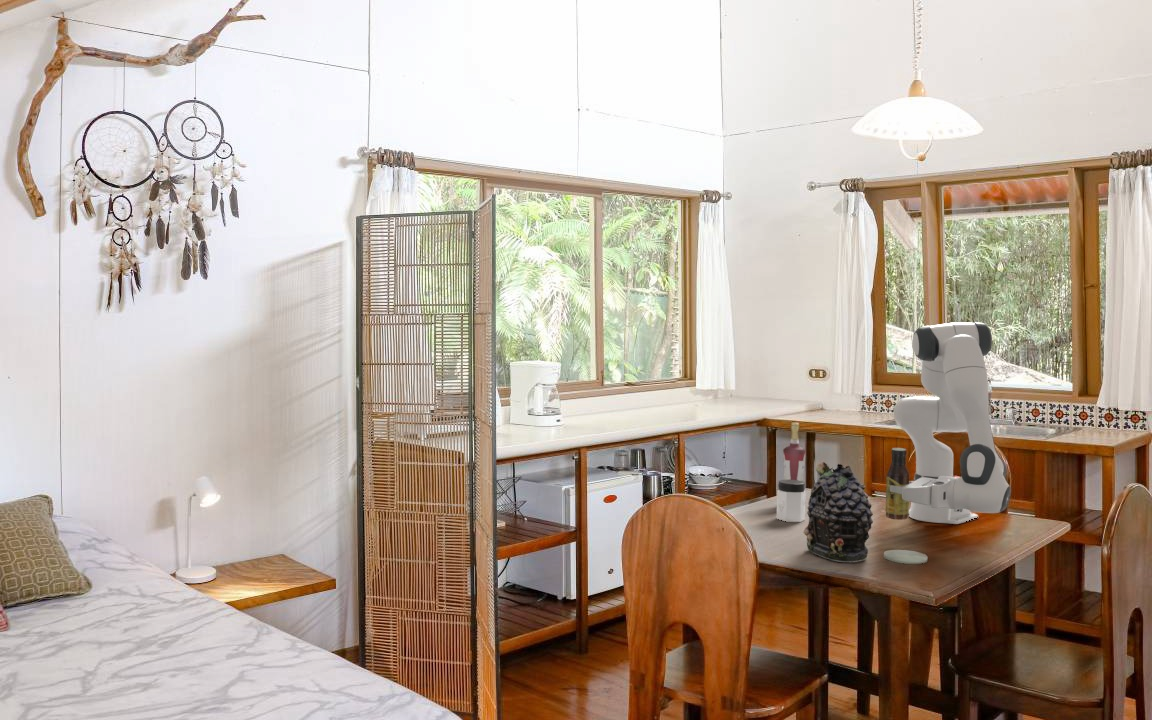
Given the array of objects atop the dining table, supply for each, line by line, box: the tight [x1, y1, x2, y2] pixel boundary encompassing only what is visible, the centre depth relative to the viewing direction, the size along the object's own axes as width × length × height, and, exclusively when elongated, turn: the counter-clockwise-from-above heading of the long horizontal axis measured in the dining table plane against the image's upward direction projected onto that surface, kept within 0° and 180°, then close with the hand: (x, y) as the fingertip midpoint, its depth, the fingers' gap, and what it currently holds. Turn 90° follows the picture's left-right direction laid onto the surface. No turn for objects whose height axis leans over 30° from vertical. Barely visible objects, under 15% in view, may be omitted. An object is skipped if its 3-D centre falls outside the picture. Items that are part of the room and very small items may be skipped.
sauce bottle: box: [885, 447, 910, 520], centre depth 270 cm, size 7×6×20 cm
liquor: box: [782, 422, 806, 482], centre depth 323 cm, size 7×7×28 cm
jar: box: [776, 479, 807, 523], centre depth 301 cm, size 9×8×12 cm
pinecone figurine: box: [802, 461, 874, 563], centre depth 257 cm, size 21×15×25 cm
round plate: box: [883, 549, 928, 565], centre depth 256 cm, size 11×11×1 cm
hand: (894, 486), depth 271 cm, fingers closed on sauce bottle, 6 cm apart
